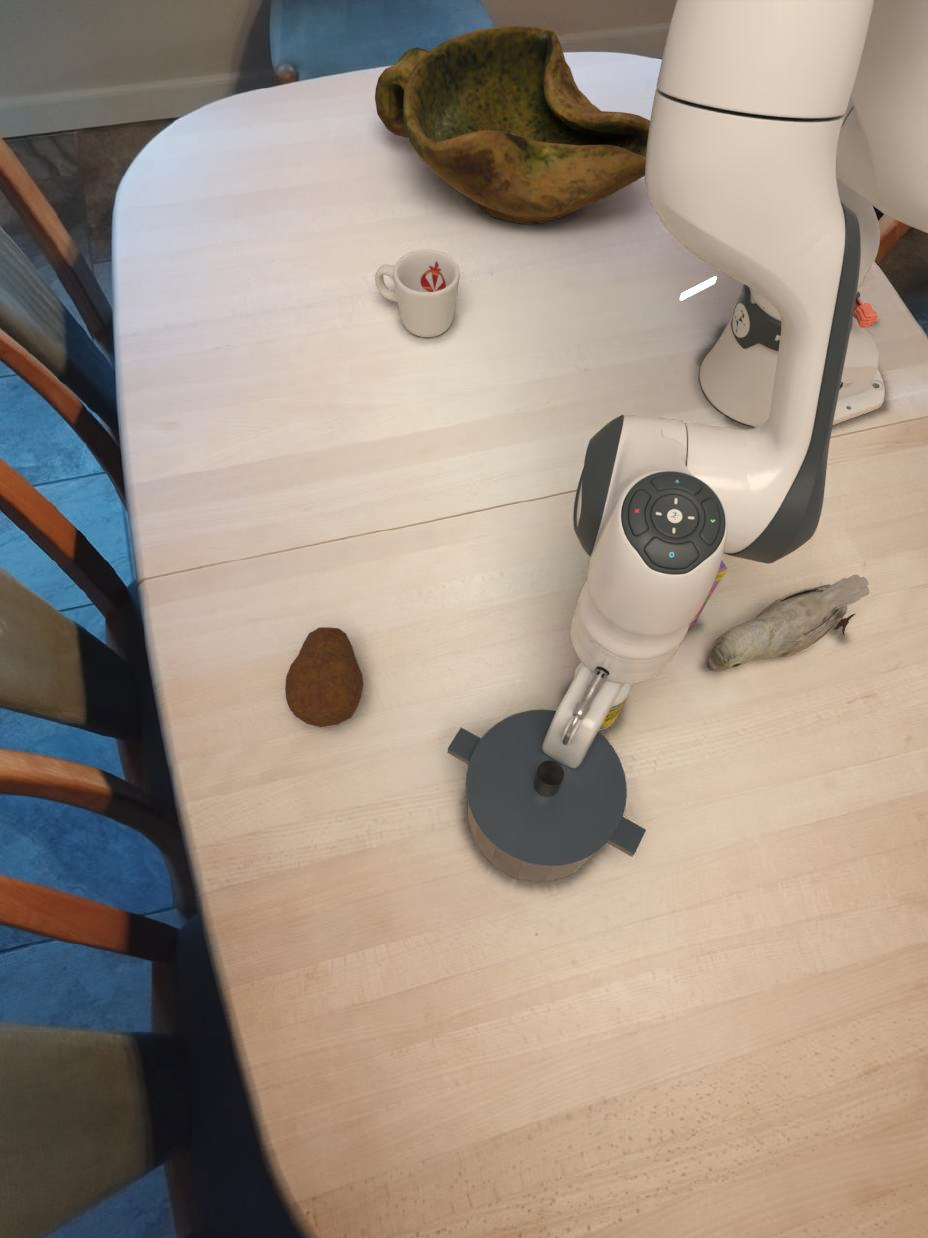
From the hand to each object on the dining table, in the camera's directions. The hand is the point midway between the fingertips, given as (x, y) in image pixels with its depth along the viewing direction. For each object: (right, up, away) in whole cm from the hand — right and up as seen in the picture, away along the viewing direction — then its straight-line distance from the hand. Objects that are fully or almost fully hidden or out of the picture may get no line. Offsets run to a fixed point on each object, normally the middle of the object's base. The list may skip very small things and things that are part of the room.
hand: (598, 693), depth 83 cm
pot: (-6, -11, -2) cm, 13 cm away
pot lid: (-6, -7, -10) cm, 13 cm away
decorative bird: (+19, +5, +7) cm, 21 cm away
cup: (-19, +45, +28) cm, 56 cm away
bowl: (-6, +71, +42) cm, 83 cm away
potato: (-26, 0, +3) cm, 27 cm away
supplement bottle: (0, -2, +3) cm, 4 cm away
